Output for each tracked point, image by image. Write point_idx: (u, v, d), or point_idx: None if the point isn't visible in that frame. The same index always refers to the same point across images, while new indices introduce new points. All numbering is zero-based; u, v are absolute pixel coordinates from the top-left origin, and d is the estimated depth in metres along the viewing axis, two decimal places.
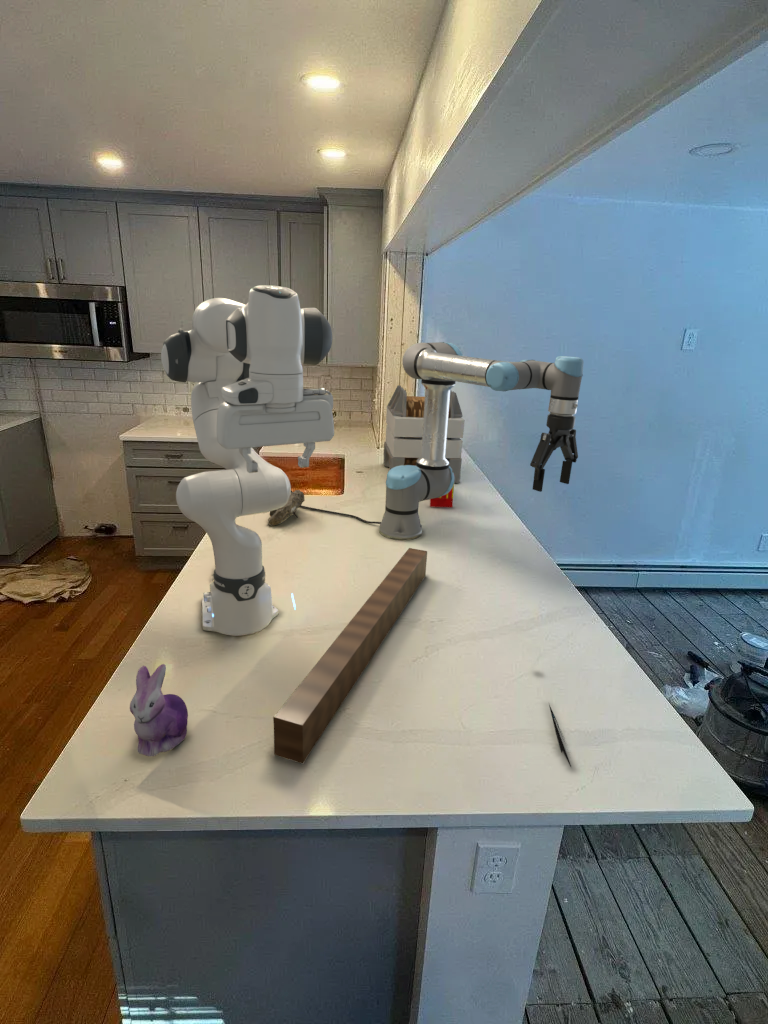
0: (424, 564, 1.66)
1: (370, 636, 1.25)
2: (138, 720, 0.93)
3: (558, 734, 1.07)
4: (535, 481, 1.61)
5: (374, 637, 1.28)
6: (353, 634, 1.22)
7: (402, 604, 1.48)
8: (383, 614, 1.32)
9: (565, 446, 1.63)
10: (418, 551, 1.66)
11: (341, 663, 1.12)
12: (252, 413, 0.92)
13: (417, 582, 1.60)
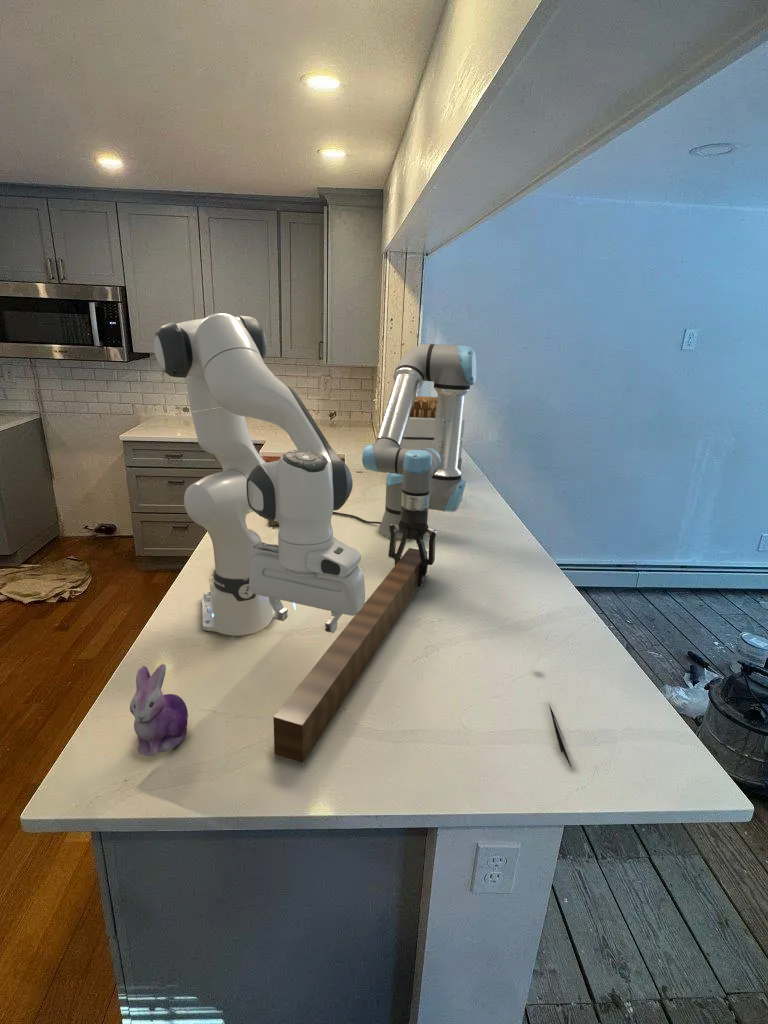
0: None
1: (370, 636, 1.25)
2: (138, 720, 0.93)
3: (558, 734, 1.07)
4: None
5: (374, 637, 1.28)
6: (353, 634, 1.22)
7: (402, 604, 1.48)
8: (383, 614, 1.32)
9: None
10: (418, 551, 1.66)
11: (341, 663, 1.12)
12: None
13: (417, 582, 1.60)
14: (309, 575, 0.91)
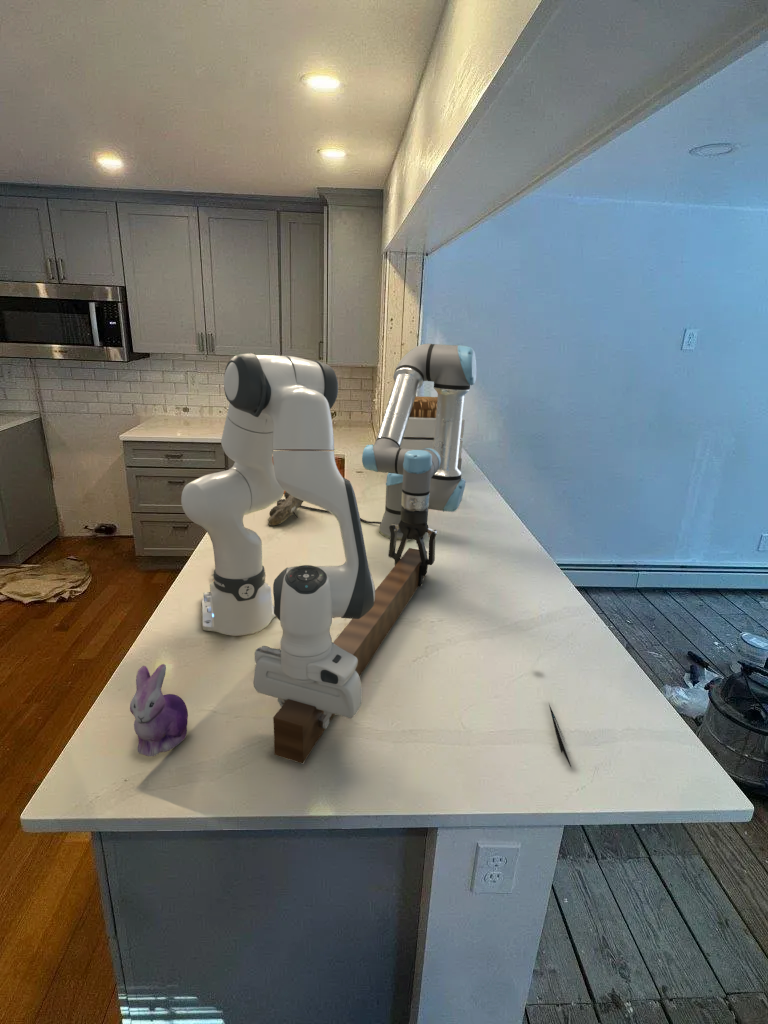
0: None
1: (370, 636, 1.25)
2: (138, 720, 0.93)
3: (558, 734, 1.07)
4: None
5: (374, 637, 1.28)
6: (353, 634, 1.22)
7: (402, 604, 1.48)
8: (383, 614, 1.32)
9: None
10: (418, 551, 1.66)
11: None
12: None
13: (417, 582, 1.60)
14: (309, 681, 0.98)
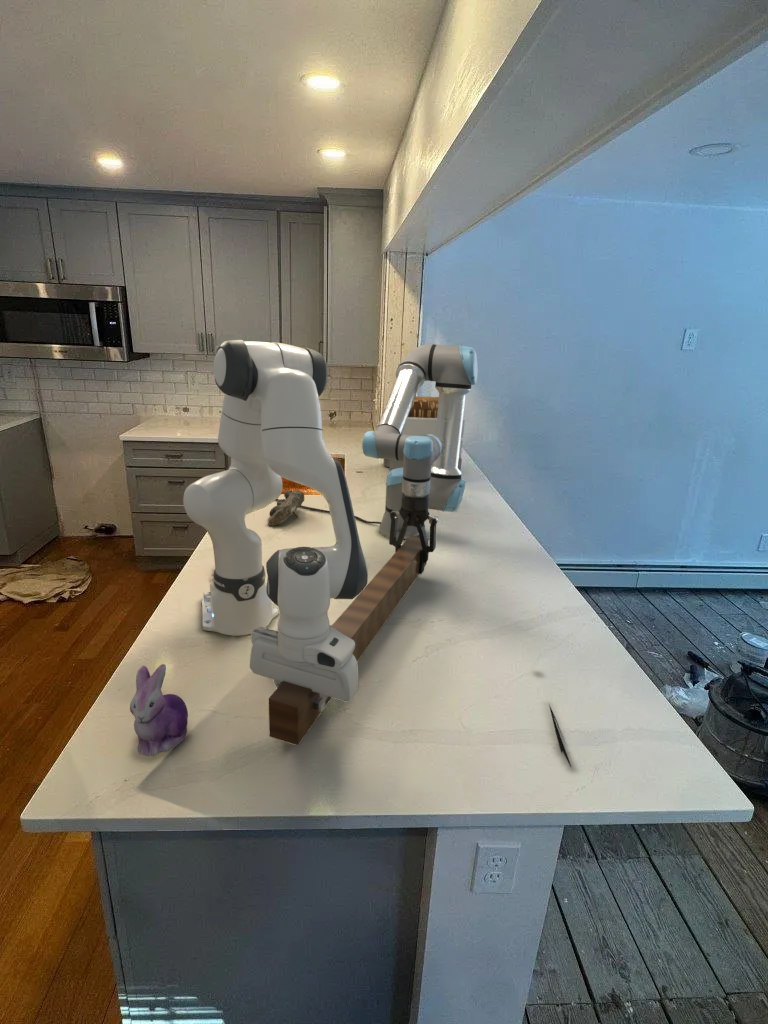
0: None
1: (368, 621, 1.24)
2: (138, 720, 0.93)
3: (558, 734, 1.07)
4: None
5: (372, 623, 1.27)
6: (351, 619, 1.22)
7: (402, 591, 1.47)
8: (382, 599, 1.31)
9: None
10: (419, 538, 1.65)
11: None
12: None
13: (418, 569, 1.59)
14: (306, 663, 0.97)
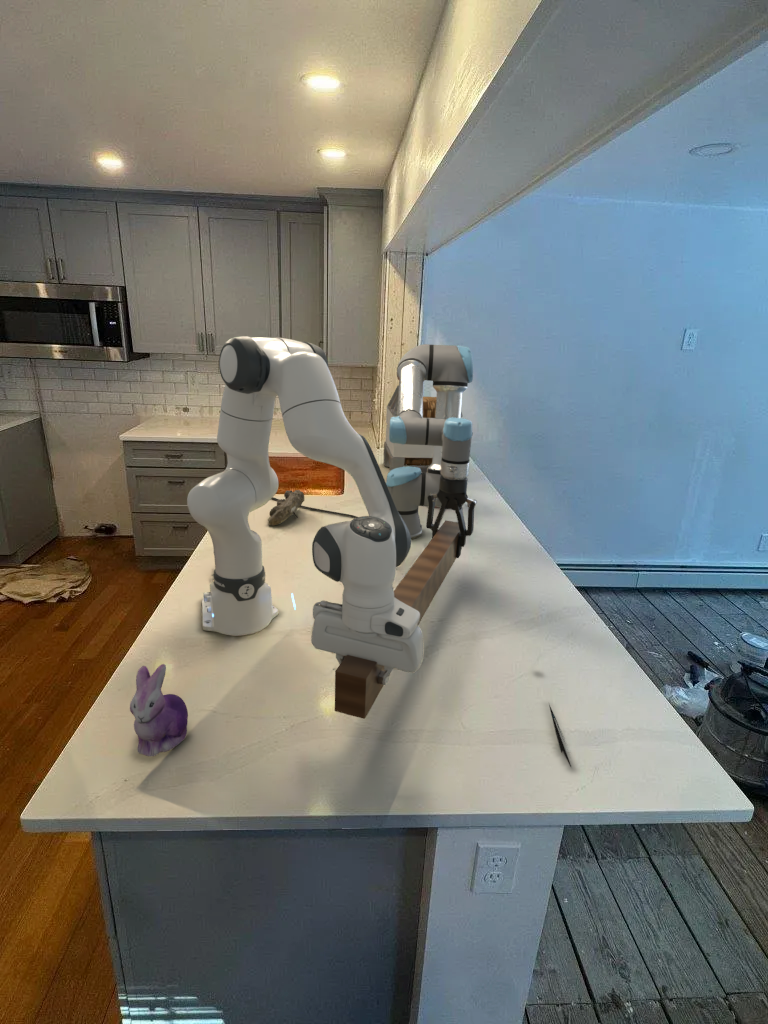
0: None
1: (419, 600, 1.23)
2: (138, 720, 0.93)
3: (558, 734, 1.07)
4: None
5: (422, 602, 1.26)
6: (402, 597, 1.20)
7: (443, 573, 1.46)
8: (429, 579, 1.30)
9: None
10: (455, 523, 1.64)
11: None
12: None
13: (455, 553, 1.59)
14: (372, 635, 0.96)
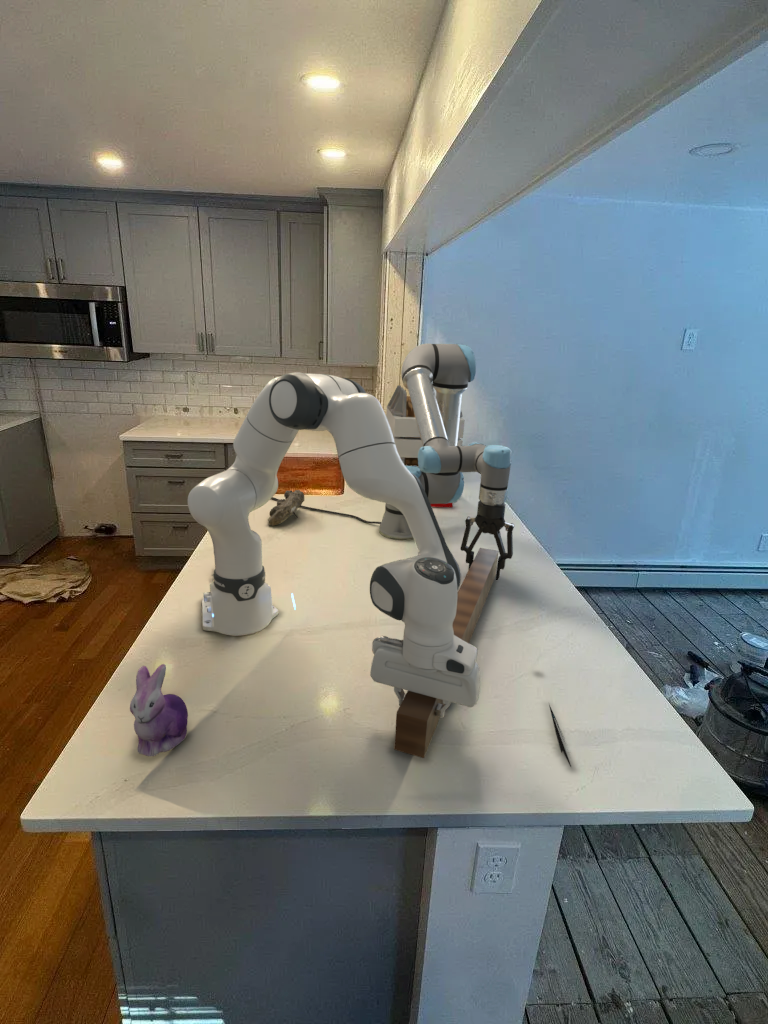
0: (496, 564, 1.68)
1: (465, 635, 1.27)
2: (138, 720, 0.93)
3: (558, 734, 1.07)
4: None
5: (467, 636, 1.30)
6: None
7: (482, 603, 1.50)
8: (473, 612, 1.34)
9: None
10: (490, 551, 1.68)
11: None
12: None
13: (491, 581, 1.63)
14: (432, 671, 1.00)
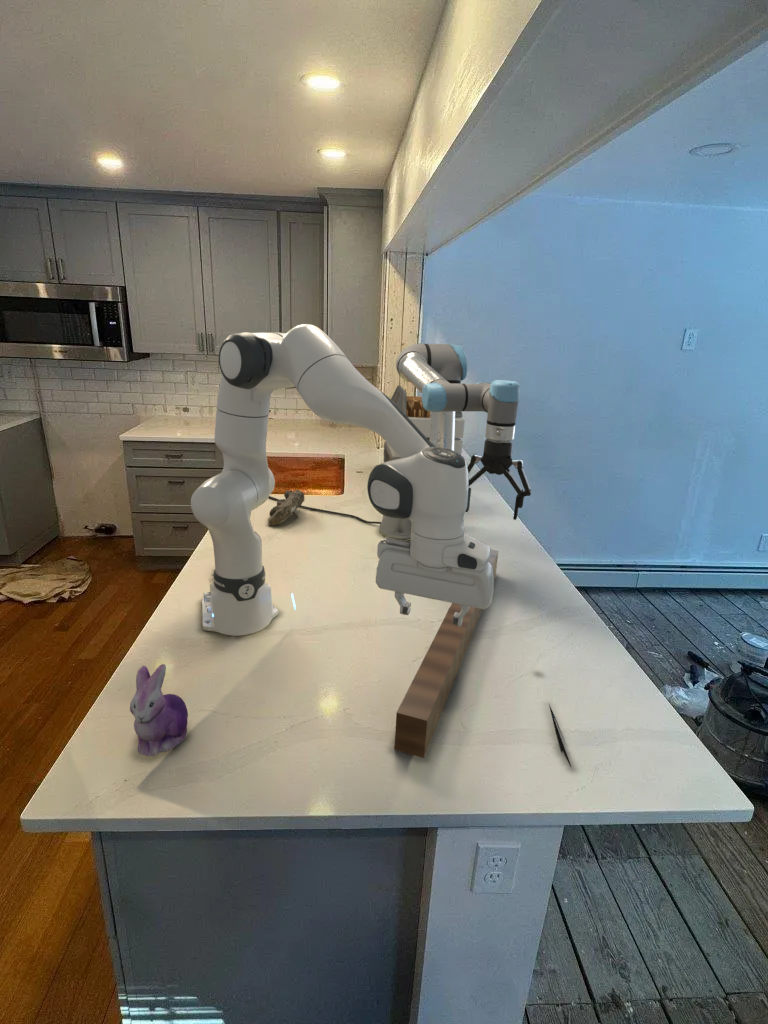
0: (496, 564, 1.68)
1: (465, 635, 1.27)
2: (138, 720, 0.93)
3: (558, 734, 1.07)
4: None
5: (467, 636, 1.30)
6: (450, 632, 1.25)
7: None
8: (473, 612, 1.34)
9: None
10: (490, 551, 1.68)
11: (447, 661, 1.15)
12: None
13: None
14: (442, 569, 0.93)
